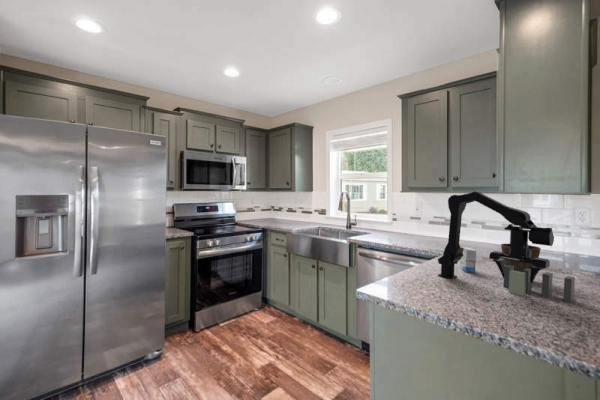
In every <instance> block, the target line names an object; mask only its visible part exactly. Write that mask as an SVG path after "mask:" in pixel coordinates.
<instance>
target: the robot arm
mask: <svg viewBox="0 0 600 400" xmlns="http://www.w3.org/2000/svg"><path fill="white" fill-rule="evenodd" d="M473 202H477V203H479V204H481V205H482V206H484V207H486V208H488V209H491V211H494V212H496V213H498V214H500V215H501V216H502V217H503V218H504V219H505V220H506V221H508V223H510V224H508V225H507V226H506V227H504V228H503V229H504V230H507V231H509V232H510V234H509V243H508V244H509V247H510V253H509V255H505V253H504V252H502V251H498V250H495V251H491V252H490V253H489V259H490V260H492V261H493V262H494V263H495V264H496V266H497V267H498V269H499V271H500V274H501V277H502V278H504V277H505V261H506V260H504V259H507V260H513V261H519V262H525V263H530V264H533V265H534V266H533V267H531V275H530V283H531V284H532V285H533V283H534V281H535V278H536V277H537V275H538V274H539V271H542V270H545V269H548V268H550V265H551V262H550V259H548V258H541V257H539V258H534V259H531V255H532V251H531V250H530V249H529V246H528V245H529V244H528V243H529V242H531V244H534V245H538V246H540V245H542V246H549V247H552V246H553V245H554V243H555V242H554V241H555V240H554V239H555V236H554V232H553V228H552V227H539V226H538V227H537V225H536V224H535V222H534V221H533V220H532V219H531V215H530V214H529V212H527V211H525V210H523V209H522V210H521V209H518V208H514V207H511V206H509V205H506V204H504V203H501V202H500V201H498V200H496V199H494V198H492V197H489V196H488V195H486V194H483V193H482V192H481V191H471V192H469V193H464V194H452V195H450V196H449V197H448V199H447V206H448V209H449V210H448V211H449V213H450V218H449V228H448V229H449V230H448V238H447V239H448V241H447V244H446V245H445V248H444V250H443V254H442V256H440V257H439V258H437V262H438V264H439V265H440V266H441V267H440V273H439V274H437V276H438V277H442V278H447V279H450V280H451V279H454V278H457V277H458V275H455V265H456V264H458V262H460V259H461V258H462V256H463V250H464V248H461V247H462V246H461V245H460V239H461V228H462V227H461V226H462V217H463V213H464V211H465V209H466V207H467V204H471V203H473ZM512 257H514V258H516V259H514V258H512ZM520 259H521V260H520Z"/></svg>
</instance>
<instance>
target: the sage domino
mask: <svg viewBox="0 0 600 400" xmlns="http://www.w3.org/2000/svg"><path fill="white" fill-rule="evenodd" d="M508 293H509V294H514V295H517V296H522V297H525V296H526V293H527V292H526V273H524V272H519V271H514V270H510V273H509V288H508Z"/></svg>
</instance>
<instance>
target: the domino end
mask: <svg viewBox="0 0 600 400" xmlns="http://www.w3.org/2000/svg"><path fill="white" fill-rule="evenodd" d="M575 280H576V277H575V276H569V275H567V276H566V277H565V276H564V279H563V281H564V282H563V302H564V301H565V303H568V302H569V304H572V303H573V302H574V301H575V283H576V282H575ZM572 301H573V302H572Z"/></svg>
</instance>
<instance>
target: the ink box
mask: <svg viewBox="0 0 600 400" xmlns="http://www.w3.org/2000/svg"><path fill="white" fill-rule="evenodd" d="M460 247H461V248H464V250H463V256H462V258H461V259H460V260H459V269H460V270H462V271H463V272H465V273H472V274H473V273H474V274H475V273H476V264H477V263H476V262H477V250H475V249H473V248H472V247H467V246H466V247H465V246H460Z"/></svg>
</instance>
